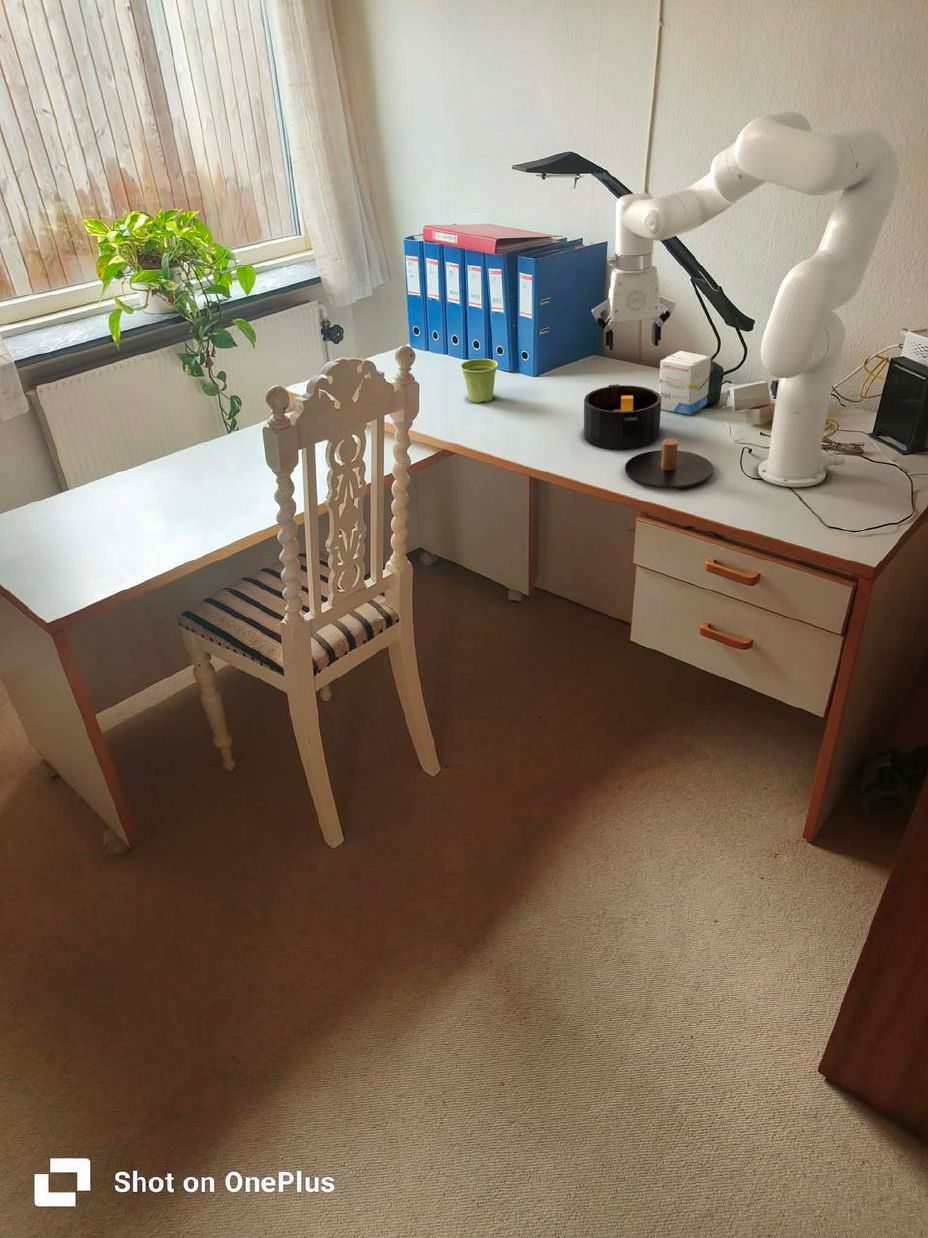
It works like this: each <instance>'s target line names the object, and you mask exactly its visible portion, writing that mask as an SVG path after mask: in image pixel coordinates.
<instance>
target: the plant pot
mask: <svg viewBox="0 0 928 1238" xmlns="http://www.w3.org/2000/svg"><path fill="white" fill-rule="evenodd" d="M498 367H499V362H498V361H496V360H494V359H491V358H474V359H470V360H466V361H463V362H462V363H460V365H459V369H460V370H461V372H462V374H463V376H464V377H463V378H464V381H465V387H466V392H467V398H468V400H469V401H470V402H473V403H481V402H485V403H487V402H489V401H492V400H493V398H494V389H495V377H496V373H497V368H498Z"/></svg>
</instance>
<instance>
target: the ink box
mask: <svg viewBox="0 0 928 1238" xmlns="http://www.w3.org/2000/svg"><path fill="white" fill-rule="evenodd" d="M711 361H712V356H709V355H704V354H700V353H699V354H698V353H693V352H689V351H688V352H687V351H684V350H678V351H677V352H675V353H672V354H670V355H668V356H666V357H665V358H663V359H661V360H660V362H659V385H658V386H659V387H658V393H659V395H660V396H661V410H663V411H669V412H673V413H677V414H683V415H687V416H692V414H694V413H696V412H698V411H699V410H701V409H702V408H704V407H706V406H707V405H708V397H707V395H708V396H709V386H710V375H711V374H710V373H711Z"/></svg>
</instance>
